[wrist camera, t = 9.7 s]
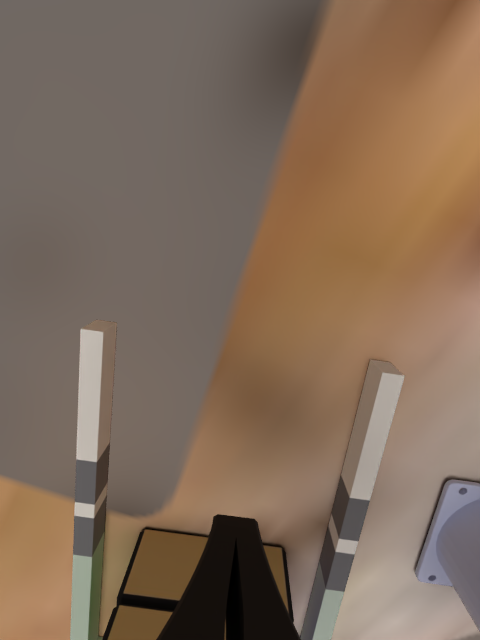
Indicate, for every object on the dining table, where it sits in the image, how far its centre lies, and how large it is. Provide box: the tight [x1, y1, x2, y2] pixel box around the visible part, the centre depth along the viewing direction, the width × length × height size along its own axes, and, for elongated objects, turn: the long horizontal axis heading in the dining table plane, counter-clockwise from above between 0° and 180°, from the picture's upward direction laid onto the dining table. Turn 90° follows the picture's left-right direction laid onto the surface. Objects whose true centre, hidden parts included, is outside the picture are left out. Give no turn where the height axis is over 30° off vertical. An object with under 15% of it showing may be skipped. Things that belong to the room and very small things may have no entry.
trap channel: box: [70, 320, 405, 640], centre depth 23 cm, size 17×26×2 cm
